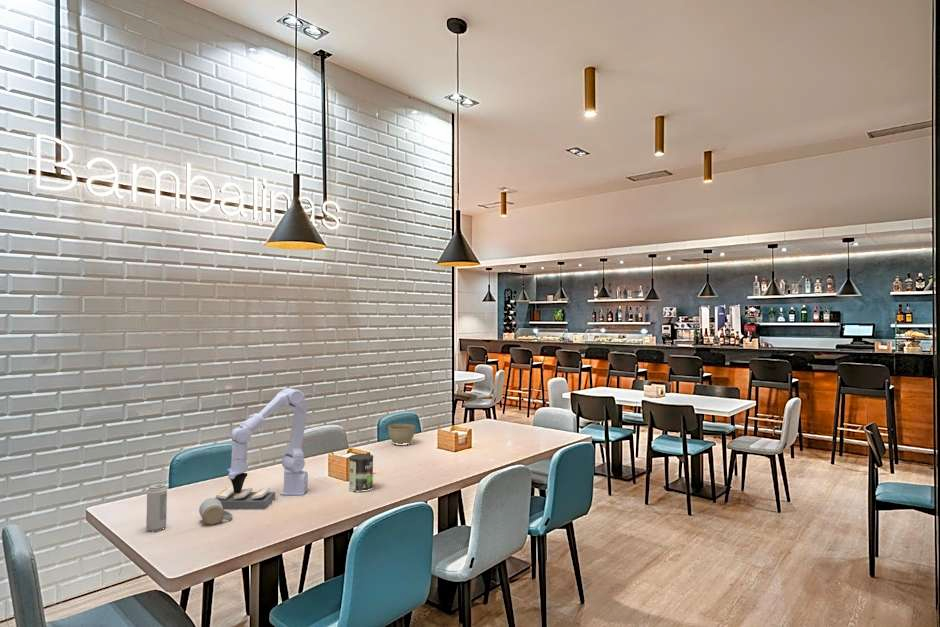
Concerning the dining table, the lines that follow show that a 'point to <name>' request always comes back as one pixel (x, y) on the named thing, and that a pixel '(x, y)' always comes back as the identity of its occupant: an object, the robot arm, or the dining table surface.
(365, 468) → the coffee can
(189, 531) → the dining table surface
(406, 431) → the planter bowl
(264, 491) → the rocker
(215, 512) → the ceramic mug
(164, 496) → the energy drink can
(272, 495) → the switch panel
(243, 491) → the rocker middle
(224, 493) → the rocker
